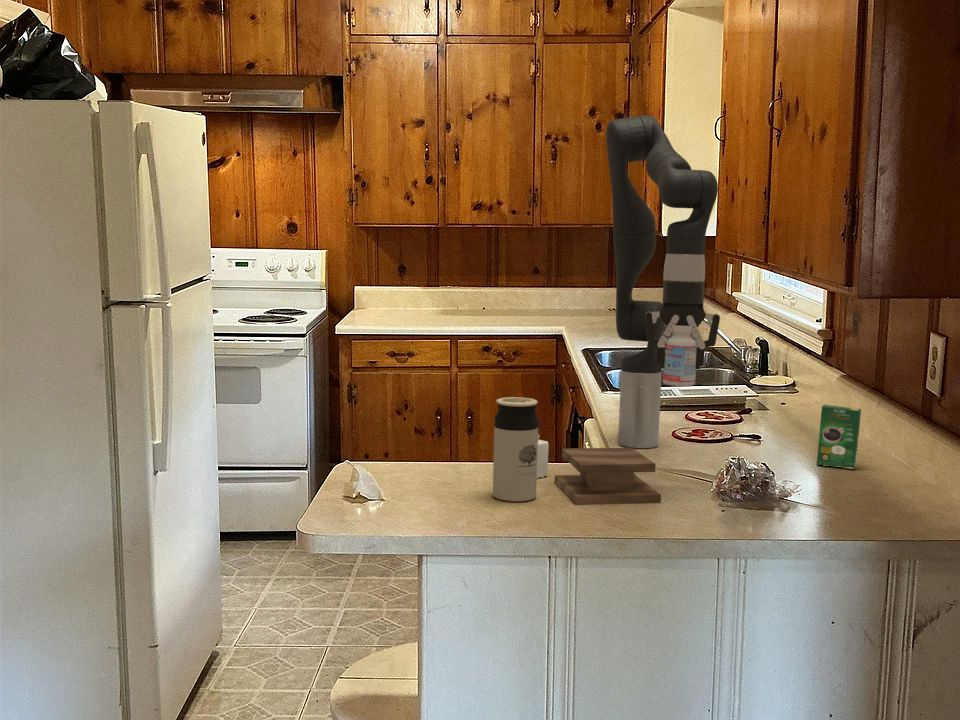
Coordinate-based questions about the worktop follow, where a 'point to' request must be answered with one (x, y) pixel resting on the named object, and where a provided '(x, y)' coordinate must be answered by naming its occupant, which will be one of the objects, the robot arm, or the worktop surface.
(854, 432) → the coffee box
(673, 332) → the pill bottle
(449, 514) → the worktop surface
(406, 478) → the worktop surface
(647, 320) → the robot arm
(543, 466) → the medicine bottle
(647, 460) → the walnut stand
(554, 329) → the worktop surface
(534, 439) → the travel mug
